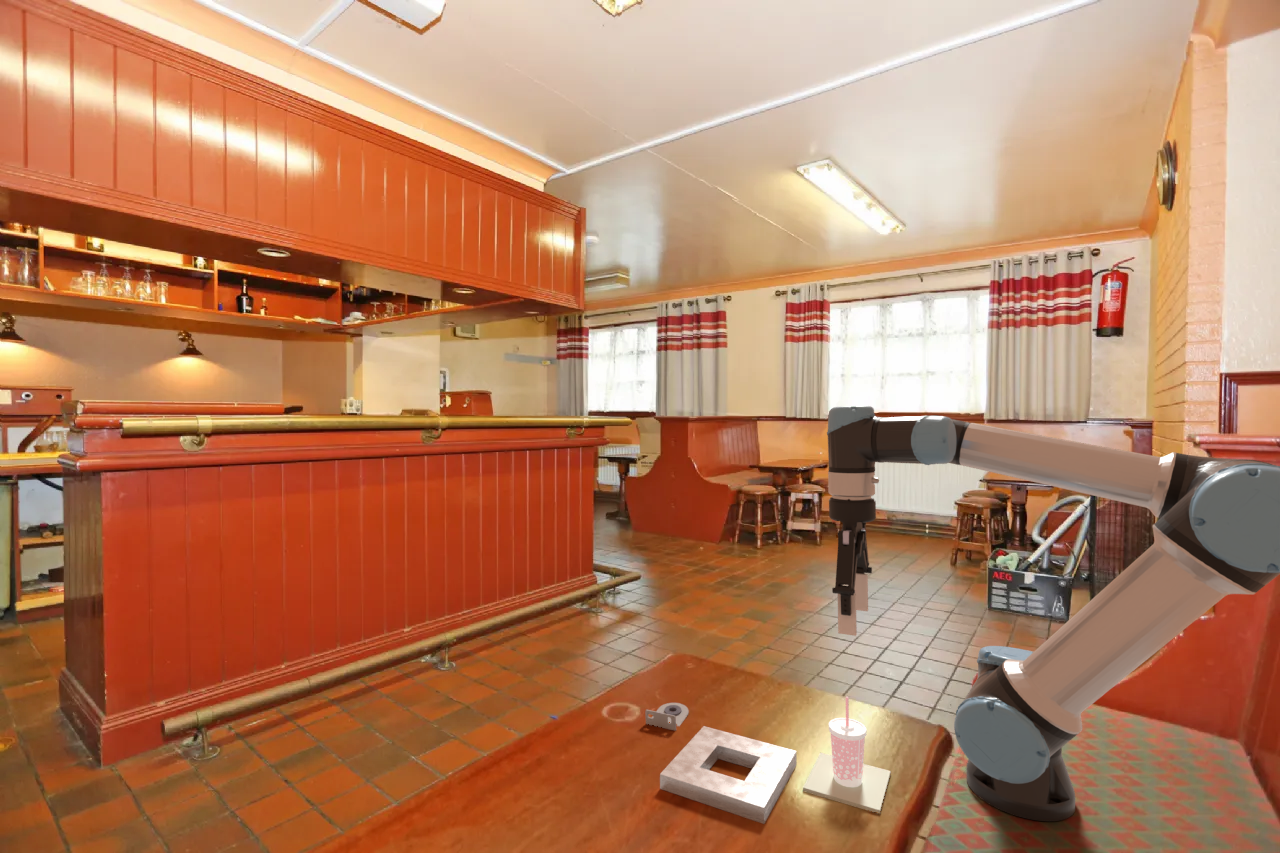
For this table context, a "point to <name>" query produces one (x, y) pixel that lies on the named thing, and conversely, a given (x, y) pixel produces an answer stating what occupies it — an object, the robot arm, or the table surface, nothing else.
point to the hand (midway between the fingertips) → (854, 621)
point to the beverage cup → (847, 749)
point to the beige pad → (861, 796)
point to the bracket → (667, 716)
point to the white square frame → (726, 792)
